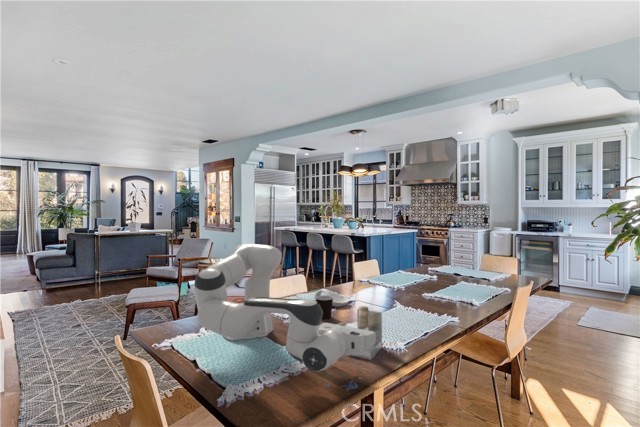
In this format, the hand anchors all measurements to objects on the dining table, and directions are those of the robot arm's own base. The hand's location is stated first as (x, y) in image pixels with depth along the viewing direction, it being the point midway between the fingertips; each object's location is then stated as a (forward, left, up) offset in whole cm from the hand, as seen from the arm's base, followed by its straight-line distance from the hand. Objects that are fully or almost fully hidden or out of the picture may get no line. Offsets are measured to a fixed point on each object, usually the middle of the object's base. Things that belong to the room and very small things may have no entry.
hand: (354, 327), depth 123 cm
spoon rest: (+32, +66, -13) cm, 74 cm away
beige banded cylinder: (+8, +5, -9) cm, 13 cm away
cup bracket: (+8, +5, -12) cm, 15 cm away
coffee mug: (+17, +48, -12) cm, 52 cm away
